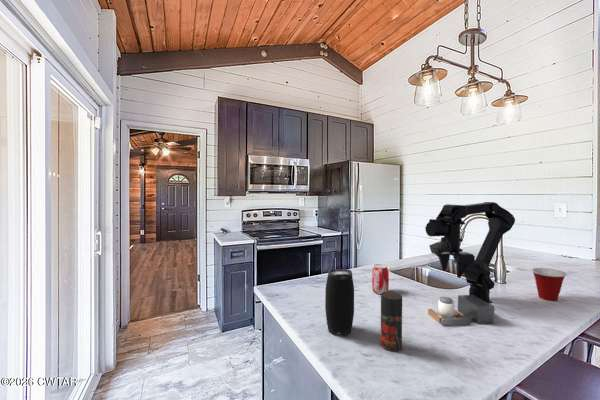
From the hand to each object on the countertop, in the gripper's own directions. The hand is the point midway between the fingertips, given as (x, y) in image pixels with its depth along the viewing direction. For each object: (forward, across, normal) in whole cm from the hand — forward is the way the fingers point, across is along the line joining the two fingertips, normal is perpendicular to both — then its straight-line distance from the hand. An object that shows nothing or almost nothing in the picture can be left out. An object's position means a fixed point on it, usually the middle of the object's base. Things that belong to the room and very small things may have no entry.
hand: (451, 274), depth 108 cm
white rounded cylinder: (+12, +12, -10) cm, 20 cm away
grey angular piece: (+12, +11, -5) cm, 17 cm away
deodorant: (+12, +27, -37) cm, 47 cm away
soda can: (+12, -14, -24) cm, 30 cm away
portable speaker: (+12, +17, -50) cm, 54 cm away
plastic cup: (+12, -1, +44) cm, 46 cm away
